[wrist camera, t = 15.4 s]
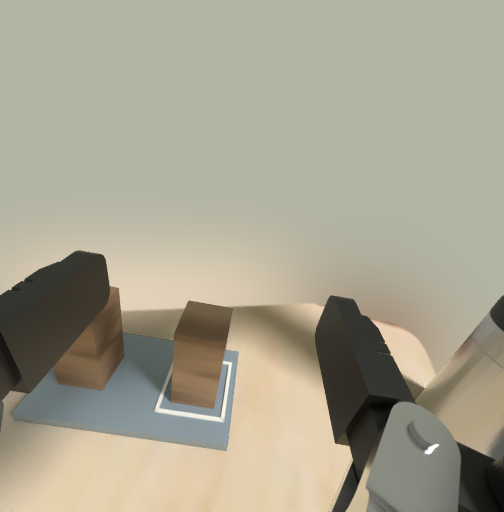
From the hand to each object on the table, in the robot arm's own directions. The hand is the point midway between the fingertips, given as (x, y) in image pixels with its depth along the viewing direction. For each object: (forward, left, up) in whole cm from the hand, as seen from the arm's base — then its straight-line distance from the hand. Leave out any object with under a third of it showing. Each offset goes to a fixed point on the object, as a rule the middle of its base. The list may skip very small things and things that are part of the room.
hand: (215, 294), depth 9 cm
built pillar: (+2, -19, -24) cm, 31 cm away
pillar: (-7, -10, -24) cm, 27 cm away
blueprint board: (-3, -14, -25) cm, 29 cm away
